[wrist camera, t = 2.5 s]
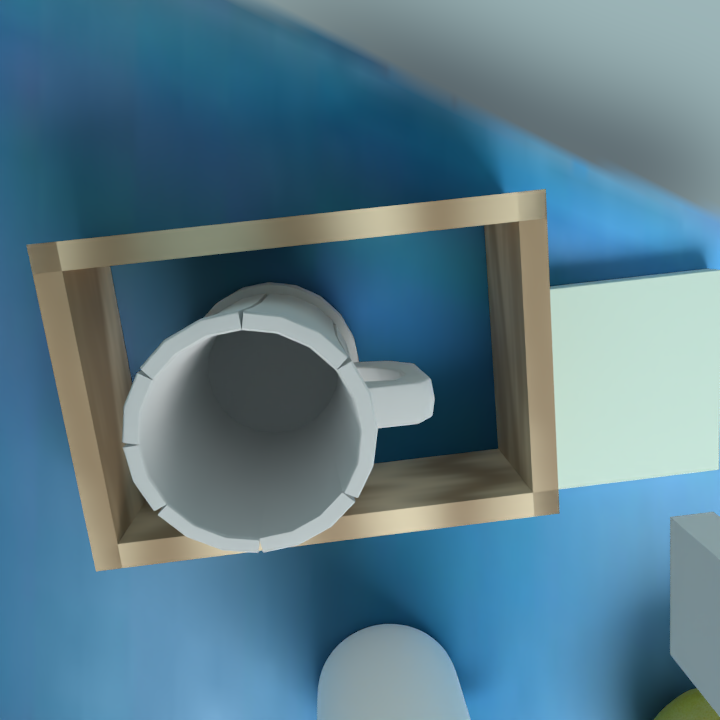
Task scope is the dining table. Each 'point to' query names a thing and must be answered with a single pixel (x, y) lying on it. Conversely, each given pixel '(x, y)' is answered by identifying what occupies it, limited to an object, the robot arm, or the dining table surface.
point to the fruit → (688, 708)
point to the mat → (636, 377)
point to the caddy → (386, 480)
